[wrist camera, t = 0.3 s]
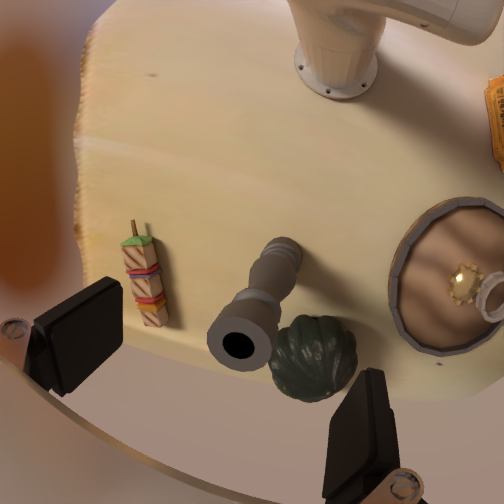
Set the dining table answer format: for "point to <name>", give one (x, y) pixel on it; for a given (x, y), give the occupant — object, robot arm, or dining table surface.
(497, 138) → the pancake mix bag
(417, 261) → the carrier plate
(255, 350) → the candle holder
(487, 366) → the dining table surface
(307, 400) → the squash
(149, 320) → the skewer
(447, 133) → the dining table surface
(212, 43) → the dining table surface
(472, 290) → the sun gear
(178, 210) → the dining table surface
